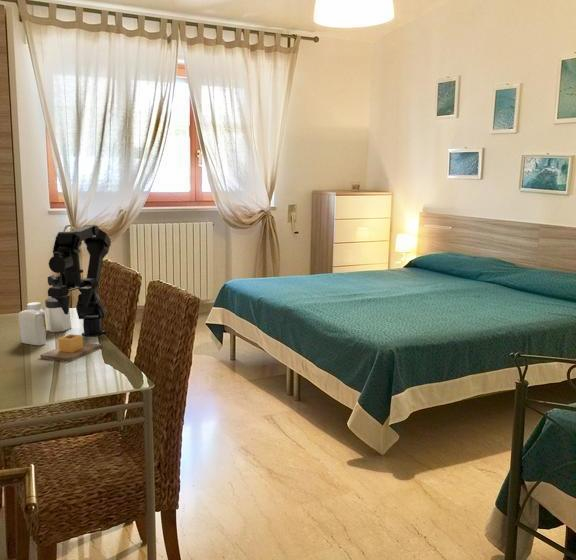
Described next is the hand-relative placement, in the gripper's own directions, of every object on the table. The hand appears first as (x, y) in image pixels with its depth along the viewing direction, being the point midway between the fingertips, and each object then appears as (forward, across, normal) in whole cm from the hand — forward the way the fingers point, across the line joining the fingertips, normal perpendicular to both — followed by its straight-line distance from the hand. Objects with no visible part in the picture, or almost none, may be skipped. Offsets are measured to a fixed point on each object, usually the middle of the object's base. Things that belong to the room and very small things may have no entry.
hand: (75, 311), depth 214 cm
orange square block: (+11, +9, +5) cm, 15 cm away
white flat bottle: (+12, +5, -17) cm, 21 cm away
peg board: (+12, +9, +5) cm, 16 cm away
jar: (+12, -13, -22) cm, 28 cm away
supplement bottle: (+12, -2, -22) cm, 25 cm away
